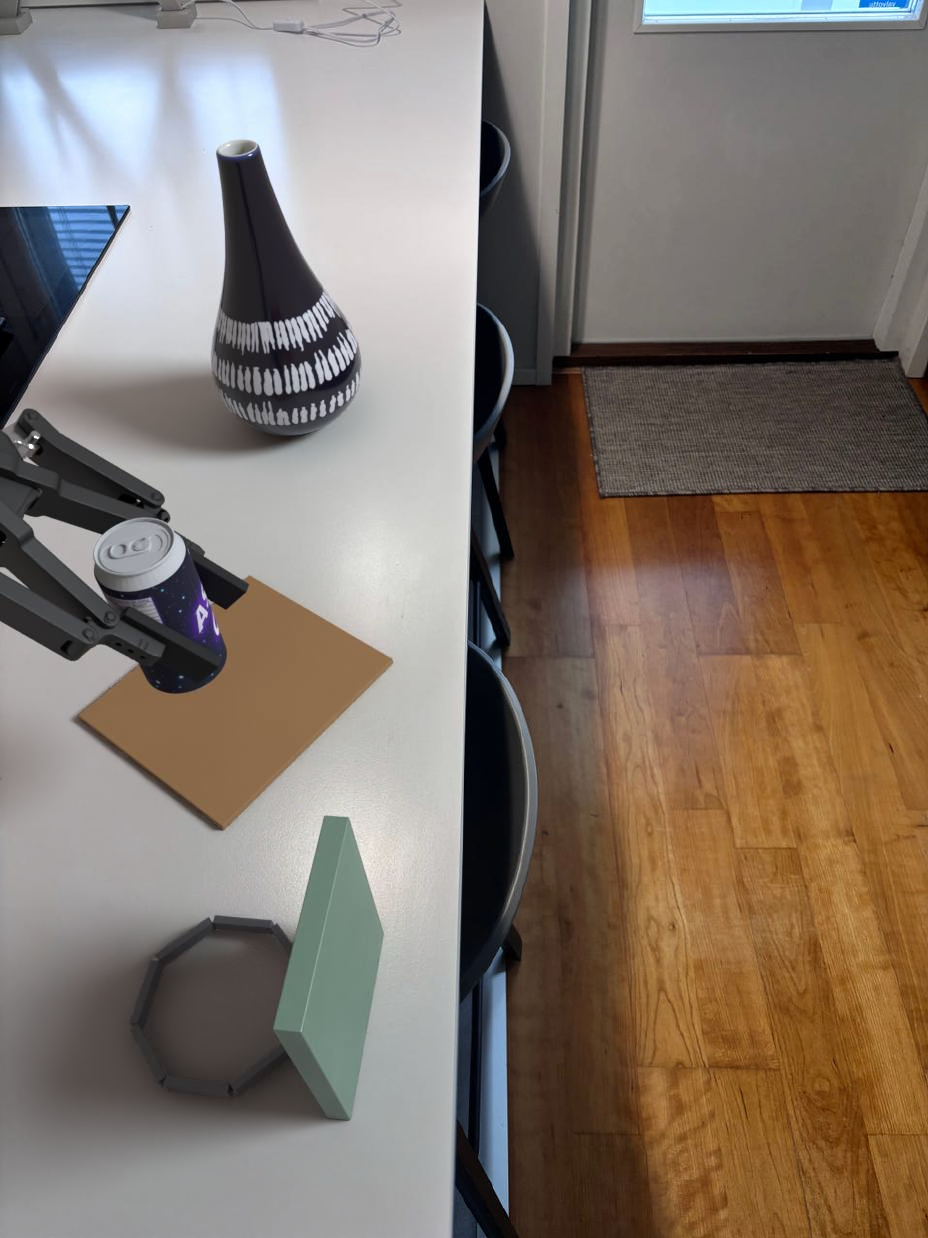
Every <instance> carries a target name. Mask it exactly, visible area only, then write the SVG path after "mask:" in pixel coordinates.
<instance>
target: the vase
mask: <svg viewBox="0 0 928 1238" xmlns="http://www.w3.org/2000/svg"><path fill="white" fill-rule="evenodd" d="M215 155H216V161H217V168H218V174H219V182H220V189H221V201H222V211H223V213H222V214H223V228H224V229H223V230H224V269H223V277H222V286H221V293H220V297H219V304H218V309H217V314H216V319H215V324H214V329H213V334H212V339H211V347H210V348H211V349H210V364H211V365H210V366H211V367H210V368H211V372H212V378H213V381H214V386H215V388H216V391H217V393H218V396H219V397H220V399H221V401H222V403H223V404H224V405H225V407H226V408H227V409H228V411H230V413H231V414H232V415H234V417H235V418H236V419H238V420H239V421H241V422H242V423H243V424H245V425H246V426H248V427H250V428H252V429H255V430H256V431H259V432H263V433H265V434H269V435H274V436H282V437H286V436H290V437H291V436H303V435H307V434H311V433H313V432H317V431H318V430H320V429H321V430H322V429H323V428H325V427H327V426H328V425H330V424H331V423H333V422H334V421H336V420H337V419H338V418H339V417H340V416H341V415H343V414H344V413H345V411H347V409H348V408H349V406H350V405H351V403H352V402H353V400H354V399H355V397H356V395H357V393H358V390H359V387H360V384H361V380H362V373H363V363H362V353H361V349H360V345H359V342H358V339H357V337H356V334H355V332H354V330H353V327H352V325H351V323H350V322H349V320H348V318H347V317H346V316H345V314H344V312H343V311H342V310H341V308H340V307H339V306H338V304H337V303H336V302H335V300H334V299H333V297H332V296H331V295H330V294H329V293H328V291H327V290H326V288H325V287H324V285H323V284H322V282H321V281H320V280H319V279H318V277H317V276H316V274H315V273H314V270H312V267H311V266H310V265H309V263H308V262H307V260H306V259H305V256H304V254H303V253H302V251H301V249H300V247H299V245H298V244H297V241H296V240H295V237H294V235H293V233H292V231H291V229H290V227H289V225H288V223H287V220H286V217H285V216H284V213H283V211H282V208H281V205H280V203H279V200H278V198H277V195H276V192H275V189H274V187H273V185H272V182H271V179H270V175H269V173H268V170H267V167H266V164H265V160H264V157H263V153H262V151H261V147H260V145H259V143H257V142H256V141H254V140H251V139H235V140H229V141H227V142H224V143H223V144H221V145H220V146H218V148H217V149H216V151H215Z"/></svg>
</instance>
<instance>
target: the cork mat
mask: <svg viewBox="0 0 928 1238" xmlns="http://www.w3.org/2000/svg"><path fill="white" fill-rule="evenodd" d="M242 580H243V581H245V582H247V583H248V584H249V587H248V589H247V592H246V593H245V594H244V595H243V596H242V597H240V598H239V599H238V600H237V601H236V602H235V603H234V604H232V605H231V606H230V607H229V608H228V609H227V610H225V609H223V608H222V607H220V606H218V605H217V604H215V603H213V604H212V605H210V607H211V609H212V612H213V614H214V617H215V620H216V622H217V625H218V627H219V630H220V633H221V635H222V638H223V640H224V643H225V645H226V649H227V659H226V662H225V665H224V667H223V669H222V670H221V672H220V673H219V674H218V675H217V677H216V678H214V679H213V680H212V681H211V682H210V683H208V684H207V685H206V686H204V687H202V688H200V689H198V690H196V691H192V692H187V693H180V694H171V693H165V692H162V691H159V690H157V689H155V688H154V687H152V686H151V685H150V684H149V682H148V681H147V679H146V677H145V675H144V673H143V671H142V669H141V667H140V666H139V665H138V666H136V667H135V668H134V669H133V670H132V671H130V672H129V673H128V674H127V675H125V677H123V678H122V679H121V680H119V681H118V682H117V683H115V684H114V685H113V686H112V687H111V688H110V689H108V691H106V692H105V693H104V694H103V695H101V696H100V697H98V698H97V699H96V700H95V701H94V702H93V703H92V704H90V705H89V706H87V707H86V709H84V710H82V711H81V712H80V713H79V714H78V718H79V720H80V721H82V722H83V723H84V724H86V725H87V726H88V727H89V728H91V729H92V730H94V731H95V732H96V733H98V735H100V736H101V737H103V738H104V739H105V740H106V741H107V742H109V743H110V744H112V745H113V746H114V747H115V748H117V749H118V750H119V751H120V752H122V754H124V755H126V756H127V757H128V758H130V759H131V760H132V761H134V762H135V763H136V764H137V765H139V766H140V767H141V768H143V769H144V770H145V771H146V772H148V773H149V774H151V776H153V777H154V778H156V779H157V780H158V781H159V782H161V783H162V784H163V785H165V786H166V787H167V788H168V789H170V790H171V791H172V792H174V793H175V794H176V795H177V796H179V797H180V798H181V799H183V800H184V801H185V802H187V803H188V804H189V805H190V806H192V807H193V808H194V809H196V810H197V811H198V812H199V813H201V814H202V815H203V816H205V817H206V818H207V819H209V820H210V821H211V822H213V823H214V824H215V825H216V826H217V827H218V828H220V829H222V830H223V831H225V830H226V829H227V828H228V827H229V826H230V825H231V824H232V823H233V822H234V821H235V820H236V819H237V818H238V817H239V816H240V815H241V814H242V813H243V812H244V811H245V810H246V809H247V808H248V807H249V806H250V805H251V804H252V803H253V802H254V801H256V800H257V798H258V797H259V796H260V795H262V794H263V792H265V790H267V789H268V787H270V785H271V784H273V782H274V781H276V780H277V779H278V777H280V776H281V775H282V774H283V773H284V772H285V771H286V770H287V769H288V768H289V767H291V766H290V765H292V764H293V763H294V762H295V761H296V760H297V759H298V758H300V756H301V755H302V754H303V753H304V752H305V751H306V750H307V749H309V747H310V746H311V745H312V744H313V743H314V742H315V741H316V740H317V739H319V737H320V736H321V735H323V733H324V732H325V731H326V730H327V729H328V728H329V727H331V725H332V724H334V723H335V721H337V719H338V718H340V716H341V715H343V713H345V711H346V710H348V709H349V707H351V705H352V704H354V703H355V702H356V701H357V699H359V698H360V697H361V696H362V695H363V694H364V693H365V692H366V691H367V690H368V689H369V688H370V687H371V686H372V685H373V684H374V683H375V682H376V681H377V680H378V679H379V678H380V677H381V676H382V675H383V674H384V673H385V672H386V671H387V670H388V669H389V668H390V667H391V666H392V665H393V664H394V660H393V658H392V657H390V656H389V655H387V654H385V653H383V652H381V650H378V649H376V648H374V647H373V646H371V645H369V644H368V643H366V642H364V641H362V640H361V639H359V638H358V637H356V636H354V635H353V634H350V633H349V632H347V631H346V630H345V629H342V628H340V627H339V626H338V625H335V624H334V623H332V622H331V621H329V620H327V619H325V618H324V617H322V616H320V615H319V614H316V613H315V612H314V611H311V610H310V609H308V608H307V607H304V606H303V605H301V604H299V603H298V602H297V601H294V600H293V599H291V598H290V597H288V596H285V595H284V594H283V593H281V592H279V591H277V590H276V589H274V588H273V587H270V586H269V585H267V584H265V583H264V582H262V581H260V580H259V579H257V578H255V577H254V576H252V575H251V574H249V575H247V576H246V577H245V578H244V579H242Z"/></svg>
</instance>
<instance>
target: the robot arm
mask: <svg viewBox="0 0 928 1238" xmlns="http://www.w3.org/2000/svg"><path fill="white" fill-rule="evenodd" d="M27 458H28V460H30V462H27V461H25V460H26V459H27ZM31 462H32V463H31ZM165 502H166V498H165V496H164V494H163V493H162V492H161V491H160V490H159V489H156V488H155V487H154V486H151V485H150V484H148V483H147V482H145V481H143V480H142V479H140V478H137V477H136V476H134V475H133V474H131V473H130V472H127V471H126V470H124V469H123V468H121V467H119V466H118V465H116V464H114V463H112V462H111V461H109V460H107V459H106V458H103V456H100V455H98V454H97V453H95V452H94V451H92V450H90V449H89V448H87V447H85V446H83V445H82V444H80V443H78V442H76V441H75V440H73V439H71V438H70V437H68V436H66V435H64V434H63V433H62V432H60V431H59V430H58V429H57V428H55V426H53V424H51V422H49V421H48V420H47V418H46V417H44V416H43V415H42V414H41V413H40V412H39V411H37V410H36V409H34V408H29V407H27V408H24V409H23V411H22V412H21V413H20V415H19V416H18V417H17V419H16V421H14V422H12V423H11V424H9V425H8V426H5V427H4V428H2V429H0V568H4V569H6V570H7V571H9V572H10V574H12V575H13V576H14V577H15V578H16V579H18V580H19V582H18V581H16V580H15V579H13V578H11V576H8V575H7V574H6V573H3V572H1V571H0V622H1V623H2V624H4V625H6V626H7V627H10V628H11V629H13V630H15V631H16V632H18V633H20V634H22V635H23V636H25V637H26V638H29V639H30V640H32V641H34V642H36V643H37V644H39V645H40V646H42V647H44V648H46V649H48V650H49V651H51V652H52V653H55V654H57V655H58V656H60V657H61V658H63V659H65V660H67V661H70V662H76V661H79V660H80V659H81V658H82V657H83V656H84V655H85V654H86V653H88V652H89V651H90V650H91V649H93V648H95V647H97V646H98V645H99V646H106V647H108V648H110V649H112V650H113V651H115V652H117V653H119V654H121V655H123V656H124V657H126V658H128V659H130V660H132V661H134V662H136V663H140V664H141V665H145V666H152V665H153V664H154V663H155V662H158V663H160V664H162V665H164V666H165V667H167V668H169V669H171V670H173V671H175V672H176V673H178V674H180V675H182V676H184V677H186V678H187V679H189V680H191V681H193V682H195V683H197V684H199V683H200V682H201V681H203V680H204V679H205V678H206V677H207V676H209V675H210V674H211V673H212V672H214V671H215V670H216V669H217V668H219V666H220V663H221V660H222V657H220V656H218V655H216V654H215V653H213V652H211V651H209V650H207V649H206V648H204V647H202V646H200V645H199V644H197V643H195V642H193V641H192V640H190V639H188V638H186V637H184V636H183V635H181V634H179V633H177V632H176V631H174V630H172V629H170V628H169V627H167V626H165V625H163V624H161V623H160V622H158V621H156V620H154V619H153V618H151V617H149V616H147V615H146V614H144V613H142V612H140V611H138V610H136V609H134V608H132V607H130V606H128V607H127V608H126V609H125V610H124V611H123V612H122V613H121V614H120V615H119V614H118V613H117V611H116V610H114V609H113V608H112V607H111V606H110V605H109V604H108V603H107V601H106V599H104V598H102V597H101V596H100V595H99V594H98V593H97V592H96V591H95V590H94V589H92V588H91V587H90V586H89V585H88V583H86V582H85V581H84V580H82V578H81V577H80V576H78V575H77V574H76V573H75V572H74V571H73V570H71V568H69V567H68V566H67V565H66V564H65V563H64V562H63V561H62V560H61V559H59V558H58V557H57V556H56V555H55V554H54V553H53V552H52V551H51V550H50V549H48V548H47V546H45V545H44V544H43V543H42V542H41V541H40V540H39V539H38V538H37V537H36V536H35V531H34V529H33V527H32V526H31V525H30V524H29V523H28V522H27V521H26V520H25V519H24V518H25V516H29V517H31V518H40V517H47V518H50V519H53V520H55V521H59V522H63V523H64V524H69V525H71V526H74V527H77V528H80V529H84V530H86V531H88V532H89V531H90V532H93V533H95V534H99V535H101V536H102V535H103V534H104V533H105V532H106V531H108V530H109V529H110V528H112V527H114V526H115V525H117V524H119V523H122V522H124V521H127V520H131V519H136V518H155V519H159V520H162V521H164V522H166V523H167V524H169V523H170V521H171V515H170V513H169V512H168V510H166V509H165V508H163V507H162V506H163V505H164V503H165ZM174 532H175V533H176V534H178V535H179V536H180V537H181V538H182V539H183V540H184V541H185V543H186V545H187V548H188V550H189V553H190V555H191V558H192V560H193V563H194V566H195V568H196V571H197V573H198V576H199V578H200V581H201V584H202V586H203V589H204V591H205V594H206V596H207V599H208V601H210V602H211V603H213V604H217V605H218V606H220V607H222V608H223V609H225V610H227V609H228V608H229V607H230V606H231V605H232V604H234V603H235V602H236V601H237V600H238V599H239V598H240V597H242V596H243V595H244V594H245V593H246V592H247V589H248V587H249V584H248V583H247V582H245V581H243V580H244V579H242V578H241V577H238V576H237V575H235V574H234V573H232V572H230V571H228V569H226V568H224V567H222V566H220V565H219V564H217V563H216V562H214V561H212V560H211V559H210V558H208V557H206V556H205V553H206V551H205V550H204V549H203V548H202V547H201V546H200V545H199V544H197V543H195V542H194V541H192V540H191V539H189V538H187V537H186V536H184V535H183V534H181V533H179V532H178V531H176V530H174ZM20 582H21V583H20Z"/></svg>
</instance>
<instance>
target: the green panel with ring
mask: <svg viewBox="0 0 928 1238" xmlns="http://www.w3.org/2000/svg"><path fill="white" fill-rule="evenodd" d="M320 827H321V828H320V832H319V835H318V839H317V843H316V848H315V852H314V856H313V860H312V864H311V868H310V871H309V872H310V873H309V875H308V876H309V877H308V879H307V880H308V881H307V884H306V889H305V892H304V897H303V902H302V907H301V908H300V909H301V910H300V914H299V918H298V922H297V926H296V931H295V935H294V939H293V943H292V941H291V940H290V939H289V937H288V936H287V934H286V933H285V931H284V930H283V929H282V927H281V926H280V924H279V923H278V922H277V923H275V922H274V921H273V920H272V919H263V918H262V919H261V918H251V917H239V916H229V915H219V914H218V915H217V914H216V915H214V917H213V920H212V919H211V918H210V917H209V916H208V917H206V918H205V919H203V920H202V921H200V922H199V923H198V924H196V925H195V926H193V927H192V928H190V929H189V930H188V931H186V932H185V933H182V935H180V936H179V937H178V938H176V939H174V940H173V941H171V942H170V943H169V944H167V945H166V946H164V947H162V948H161V949H160V950H158V951H157V952H156V953H154V956H155V958H156V959H150V960H149V963H148V966H147V968H146V972H145V975H144V977H143V980H142V983H141V986H140V989H139V992H138V996H137V998H136V1001H135V1004H134V1007H133V1010H132V1012H131V1016H130V1019H129V1022H128V1023H129V1024H130V1025H131V1026H132V1027H130V1028H129V1031H130V1034H131V1035H132V1037H133V1039H134V1041H135V1043H136V1045H137V1047H138V1048H139V1050H140V1053H141V1055H142V1056H143V1059H144V1060H145V1062H146V1064H147V1065H148V1067H149V1069H150V1071H151V1073H152V1075H153V1077H154V1079H155V1081H156V1082H157V1084H159V1085H160V1087H162V1088H165V1090H167V1091H168V1092H171V1093H180V1094H189V1095H198V1096H207V1097H215V1098H223V1099H232V1098H233V1095H234V1093H235V1094H236V1095H237V1097H238V1096H239V1097H240V1096H241V1095H242V1094H243V1093H245V1092H246V1091H247V1090H249V1089H250V1088H252V1086H254V1085H255V1084H256V1083H258V1082H259V1081H260V1080H262V1078H264V1077H265V1076H267V1075H268V1074H269V1073H270V1072H271V1071H273V1070H274V1069H275V1068H276V1067H278V1066H280V1064H282V1063H283V1062H284V1061H285V1060H287V1059H288V1058H290V1060H291V1062H292V1063H293V1065H294V1066H295V1068H296V1070H297V1071H298V1073H299V1074H300V1076H301V1077H302V1079H303V1081H304V1083H305V1084H306V1086H307V1087H308V1089H309V1091H310V1092H311V1094H312V1095H313V1096H314V1098H315V1101H316V1102H317V1104H318V1105H319V1107H320V1108H321V1109H322V1111H323V1113H324V1114H325V1116H326V1118H328V1119H334V1120H344V1121H351V1120H352V1116H353V1109H354V1103H355V1098H356V1093H357V1087H358V1081H359V1076H360V1071H361V1064H362V1058H363V1053H364V1048H365V1042H366V1037H367V1033H368V1032H367V1031H368V1026H369V1020H370V1015H371V1009H372V1005H373V1004H372V1002H373V999H374V993H375V987H376V981H377V975H378V970H379V963H380V959H381V952H382V947H383V941H384V937H385V936H384V935H385V932H384V929H383V928H384V927H383V925H382V922H381V919H380V915H379V912H378V909H377V905H376V902H375V898H374V895H373V892H372V889H371V886H370V882H369V879H368V875H367V872H366V868H365V865H364V862H363V859H362V855H361V852H360V849H359V846H358V842H357V839H356V836H355V833H354V830H353V826H352V823H351V818H350V817H349V816H340V815H324V816H323V819H322V823H321V826H320ZM216 931H226V932H227V931H228V932H237V933H247V934H248V933H249V934H259V935H269V936H270V935H271V936H273V937H274V938H275V939H276V941H277V943H278V944H279V945H280V947H281V949H282V950H283V951H284V952H285V954H286V955H287V957H288V964H287V968H286V972H285V975H284V980H283V985H282V988H281V992H280V996H279V1000H278V1004H277V1009H276V1013H275V1017H274V1022H273V1025H272V1032H273V1033H274V1034H275V1036H276V1037H277V1039H278V1041H279V1042H280V1044H278V1045H277V1046H276V1047H274V1048H273V1049H272V1050H271V1051H270V1052H268V1053H267V1054H266V1055H264V1056H262V1057H261V1058H260V1059H259V1060H258V1061H257V1062H255V1063H254V1064H253V1065H251V1066H250V1067H249V1068H247V1069H246V1070H245V1071H244V1072H242V1073H241V1074H240V1075H239V1076H237V1077H235V1079H233V1080H232V1081H231V1082H222V1081H215V1080H207V1079H206V1080H204V1079H198V1078H197V1079H196V1078H187V1077H178V1076H170V1075H169V1074H168V1072H167V1070H166V1069H165V1067H164V1065H163V1063H162V1061H161V1060H160V1057H159V1056H158V1054H157V1052H156V1049H155V1048H154V1046H153V1045H152V1043H151V1040H150V1039H149V1037H148V1036H147V1034H146V1032H145V1030H144V1028H145V1025H146V1022H147V1018H148V1015H149V1013H150V1010H151V1006H152V1003H153V1002H154V1001H153V1000H154V997H155V994H156V991H157V988H158V985H159V983H160V979H161V976H162V974H163V970H164V967H166V966H167V965H169V964H170V963H172V962H173V961H174V960H176V959H177V958H179V957H180V956H181V955H183V954H184V953H186V952H188V951H189V950H190V949H192V948H193V947H194V946H196V945H198V944H199V943H200V942H201V941H203V940H204V939H206V938H207V937H209V936H210V935H212V934H213V933H214V932H216Z"/></svg>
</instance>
